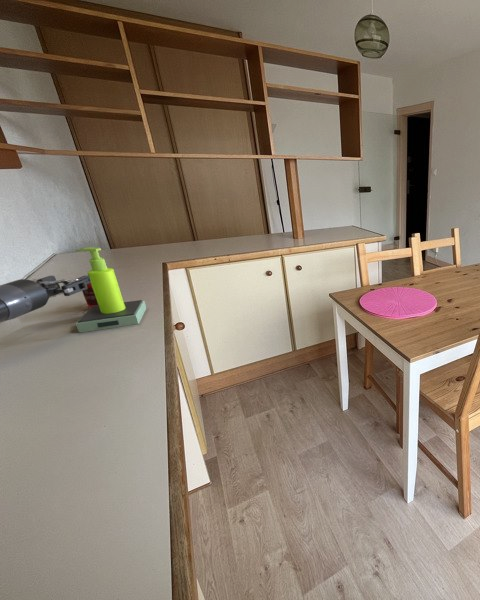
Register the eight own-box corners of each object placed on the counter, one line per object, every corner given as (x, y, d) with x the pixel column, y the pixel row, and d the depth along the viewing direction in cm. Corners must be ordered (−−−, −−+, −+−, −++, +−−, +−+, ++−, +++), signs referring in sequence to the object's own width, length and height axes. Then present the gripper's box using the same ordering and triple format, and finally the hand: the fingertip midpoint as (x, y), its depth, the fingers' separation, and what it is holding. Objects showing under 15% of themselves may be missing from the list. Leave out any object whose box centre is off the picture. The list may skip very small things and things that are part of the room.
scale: (78, 332, 92) (74, 322, 91) (93, 315, 103) (90, 305, 102) (138, 324, 98) (135, 314, 97) (146, 308, 110) (143, 299, 109)
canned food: (114, 301, 115) (104, 272, 111) (121, 306, 110) (112, 277, 106) (86, 307, 109) (75, 277, 105) (92, 313, 104) (81, 282, 100)
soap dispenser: (107, 306, 102) (86, 245, 95) (130, 306, 103) (111, 246, 95) (92, 313, 96) (69, 250, 89) (116, 313, 97) (95, 250, 90)
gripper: (40, 284, 71) (95, 265, 86) (-33, 285, 69) (37, 265, 84) (52, 314, 73) (104, 291, 88) (-18, 316, 72) (47, 291, 86)
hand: (71, 278), depth 86 cm, fingers open, 8 cm apart
